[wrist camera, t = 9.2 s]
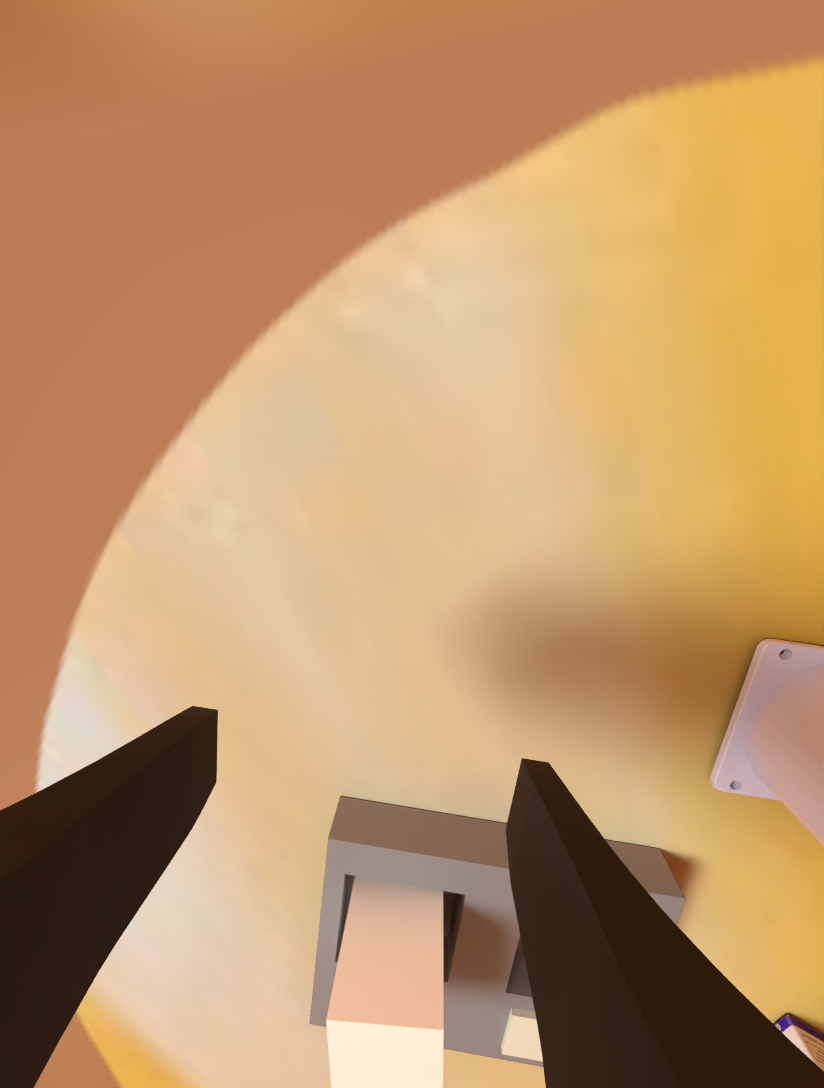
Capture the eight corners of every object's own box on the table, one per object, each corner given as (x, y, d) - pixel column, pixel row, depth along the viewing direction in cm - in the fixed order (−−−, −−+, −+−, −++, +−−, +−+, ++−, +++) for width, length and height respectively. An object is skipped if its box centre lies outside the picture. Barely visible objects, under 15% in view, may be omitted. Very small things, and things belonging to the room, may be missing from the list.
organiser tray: (659, 848, 22) (689, 905, 20) (600, 1019, 25) (619, 1089, 23) (340, 796, 23) (326, 844, 20) (321, 969, 26) (307, 1031, 23)
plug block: (443, 854, 23) (443, 1030, 16) (442, 918, 24) (442, 1108, 17) (360, 849, 23) (326, 1019, 16) (362, 913, 24) (331, 1097, 17)
